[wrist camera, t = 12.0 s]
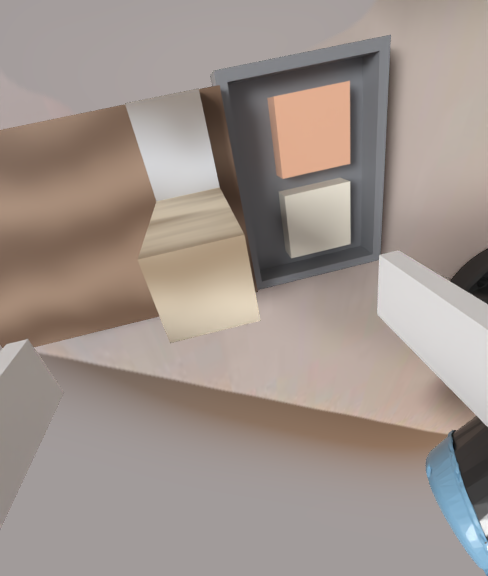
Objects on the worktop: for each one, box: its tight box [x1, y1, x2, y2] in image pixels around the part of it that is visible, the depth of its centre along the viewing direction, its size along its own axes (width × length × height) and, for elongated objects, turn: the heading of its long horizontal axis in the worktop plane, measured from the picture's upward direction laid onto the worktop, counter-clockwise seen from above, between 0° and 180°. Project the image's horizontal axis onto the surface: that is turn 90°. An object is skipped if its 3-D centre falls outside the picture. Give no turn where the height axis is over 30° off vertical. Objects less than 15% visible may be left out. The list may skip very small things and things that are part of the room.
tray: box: [210, 35, 391, 290], centre depth 27 cm, size 18×13×3 cm
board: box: [0, 85, 258, 348], centre depth 26 cm, size 16×22×5 cm
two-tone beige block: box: [125, 89, 261, 343], centre depth 19 cm, size 16×4×12 cm, turn 10°
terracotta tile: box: [267, 81, 350, 179], centre depth 26 cm, size 6×6×2 cm
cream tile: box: [279, 178, 351, 258], centre depth 29 cm, size 6×6×2 cm
